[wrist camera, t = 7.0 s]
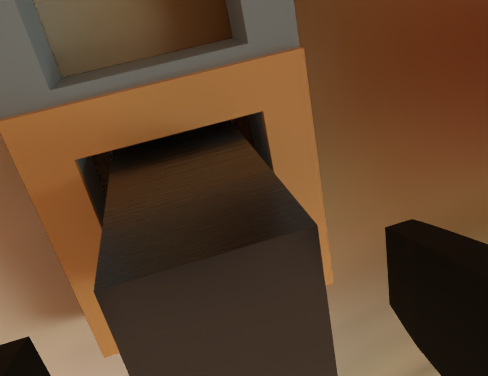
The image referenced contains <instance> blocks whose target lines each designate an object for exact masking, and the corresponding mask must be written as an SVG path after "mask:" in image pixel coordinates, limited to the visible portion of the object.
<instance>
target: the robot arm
mask: <svg viewBox="0 0 488 376" xmlns="http://www.w3.org/2000/svg"><path fill="white" fill-rule="evenodd" d="M385 233H386V250H387V267H388V284H389V301H390V305H391V307H392V309H393V310H394V312H395V313H396V315H397V317H398V318H399V320H400V321H401V323H402V324H403V326H404V328H405V329H406V331H407V332H408V334H409V335H410V337H411V338H412V340H413V341H414V342H415V344H416V345H417V347H418V348H419V349H420V350H421V352H422V353H423V354H424V355H425V357H426V358H427V359H428V360H429V361H430V363H431V364H432V365H433V366H434V367H435V369H436V370H437V371H438V372H439V373H440V375H441V376H488V244H485V243H482V242H479V241H477V240H474V239H471V238H468V237H465V236H462V235H460V234H457V233H454V232H451V231H448V230H445V229H442V228H439V227H436V226H433V225H430V224H427V223H424V222H420V221H417V220H413V219H411V220H408V221H405V222H401V223H398V224H395V225H392V226H388V227H385ZM0 376H50V374H49V372H48V370H47V368H46V366H45V365H44V363H43V361H42V359H41V357H40V356H39V354H38V352H37V350H36V348H35V347H34V345H33V343H32V341H31V339H30V337H29V336H28V337H25V338H22V339H19V340H15V341H12V342H9V343H6V344H2V345H0Z"/></svg>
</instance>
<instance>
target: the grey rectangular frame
mask: <svg viewBox="0 0 488 376" xmlns="http://www.w3.org/2000/svg"><path fill="white" fill-rule="evenodd" d="M225 1H226V6H227V11H228V16H229V22H230V27H231V32H232V37H233V38H230V39H226V40H222V41H217V42H213V43H209V44H205V45H200V46H196V47H192V48H188V49H183V50H179V51H175V52H170V53H166V54H162V55H158V56H153V57H149V58H145V59H141V60H136V61H132V62H128V63H124V64H119V65H115V66H111V67H106V68H102V69H98V70H94V71H89V72H85V73H81V74H77V75H72V76H68V77H64V78H61V75H60V72H59V70H58V67H57V64H56V62H55V59H54V56H53V54H52V51H51V48H50V46H49V43H48V40H47V38H46V35H45V32H44V30H43V27H42V24H41V22H40V19H39V16H38V14H37V11H36V8H35V6H34V3H33V0H0V133H1V136H2V138H3V140H4V142H5V144H6V146H7V148H8V151H9V153H10V155H11V157H12V159H13V161H14V164H15V166H16V168H17V170H18V172H19V174H20V177H21V179H22V181H23V183H24V185H25V187H26V190H27V192H28V194H29V196H30V198H31V200H32V202H33V205H34V207H35V209H36V211H37V213H38V215H39V218H40V220H41V222H42V224H43V226H44V228H45V231H46V233H47V235H48V237H49V239H50V241H51V244H52V246H53V248H54V250H55V252H56V254H57V256H58V259H59V261H60V263H61V265H62V267H63V269H64V272H65V274H66V276H67V278H68V280H69V282H70V285H71V287H72V289H73V291H74V293H75V295H76V298H77V300H78V302H79V304H80V306H81V308H82V310H83V313H84V315H85V317H86V319H87V321H88V323H89V326H90V328H91V330H92V332H93V334H94V336H95V339H96V341H97V343H98V345H99V347H100V349H101V352H102V354H103V356H104V358H105V357H108V356H111V355H114V354H117V353H120V352H119V350H118V348H117V345H116V343H115V341H114V338H113V336H112V334H111V331H110V329H109V327H108V324H107V322H106V320H105V317H104V315H103V313H102V310H101V308H100V306H99V303H98V301H97V299H96V296H95V294H94V292H93V291H94V284H95V277H96V269H97V262H98V255H99V247H100V240H101V233H102V225H103V218H104V211H105V204H106V195H105V192H104V189H103V187H102V184H101V181H100V179H99V176H98V174H97V171H96V168H95V166H94V163H93V160H92V158H91V156H92V155H96V154H100V153H104V152H108V151H111V150H115V149H119V148H123V147H127V146H131V145H134V144H138V143H142V142H146V141H150V140H154V139H158V138H161V137H165V136H169V135H173V134H177V133H181V132H184V131H188V130H192V129H196V128H200V127H204V126H208V125H211V124H215V123H219V122H223V121H227V120H231V119H235V118H238V117H242V116H246V115H248V119H249V124H250V129H251V134H252V139H253V144H254V149H255V150H256V152H257V153H258V154H259V155H260V156H261V158H262V159H263V160H264V161H265V162H266V164H267V165H268V166H269V167H270V169H271V170H272V171H273V172H274V173H275V175H276V176H277V177H278V178H279V179H280V181H281V182H282V183H283V184H284V185H285V187H286V188H287V189H288V190H289V191H290V193H291V194H292V195H293V196H294V197H295V199H296V200H297V201H298V202H299V203H300V205H301V206H302V207H303V208H304V210H305V211H306V212H307V213H308V214H309V216H310V217H311V218H312V219H313V220H314V222H315V223H316V224H317V225H318V232H319V240H320V247H321V255H322V262H323V270H324V278H325V285H326V286H328V285H331V284H334V280H333V272H332V264H331V256H330V248H329V241H328V233H327V225H326V217H325V209H324V202H323V194H322V186H321V178H320V170H319V163H318V155H317V147H316V139H315V132H314V124H313V116H312V108H311V100H310V93H309V85H308V77H307V69H306V61H305V54H304V48H302V47H300V44H299V37H298V29H297V21H296V14H295V6H294V0H225Z"/></svg>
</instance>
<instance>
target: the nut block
mask: <svg viewBox="0 0 488 376" xmlns="http://www.w3.org/2000/svg"><path fill="white" fill-rule="evenodd" d="M93 292H94V294H95V296H96V299H97V301H98V303H99V306H100V308H101V310H102V313H103V315H104V317H105V320H106V322H107V324H108V327H109V329H110V331H111V334H112V336H113V338H114V341H115V343H116V345H117V348H118V350H119V352H120V355H121V357H122V359H123V362H124V364H125V366H126V369H127V371H128V373H129V376H337V368H336V361H335V353H334V346H333V338H332V330H331V323H330V315H329V308H328V300H327V293H326V285H325V278H324V270H323V262H322V255H321V247H320V240H319V232H318V225H317V224H316V223H315V222H314V220H313V219H312V218H311V217H310V216H309V214H308V213H307V212H306V211H305V210H304V208H303V207H302V206H301V205H300V203H299V202H298V201H297V200H296V199H295V197H294V196H293V195H292V194H291V193H290V191H289V190H288V189H287V188H286V187H285V185H284V184H283V183H282V182H281V181H280V179H279V178H278V177H277V176H276V175H275V173H274V172H273V171H272V170H271V169H270V167H269V166H268V165H267V164H266V162H265V161H264V160H263V159H262V158H261V156H260V155H259V154H258V153H257V152H256V150H255V149H254V148H253V147H252V146H251V144H250V143H249V142H248V141H247V140H246V138H245V137H244V136H243V135H242V134H241V132H240V131H239V130H238V129H237V128H236V126H235V125H234V124H233V123H232V121H231V120H227V121H223V122H219V123H215V124H211V125H208V126H204V127H200V128H196V129H192V130H188V131H184V132H181V133H177V134H173V135H169V136H165V137H161V138H158V139H154V140H150V141H146V142H142V143H138V144H134V145H131V146H127V147H123V148H119V149H115V150H113V153H112V160H111V167H110V174H109V182H108V189H107V196H106V204H105V211H104V218H103V225H102V233H101V240H100V247H99V255H98V262H97V269H96V277H95V284H94V291H93Z"/></svg>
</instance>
